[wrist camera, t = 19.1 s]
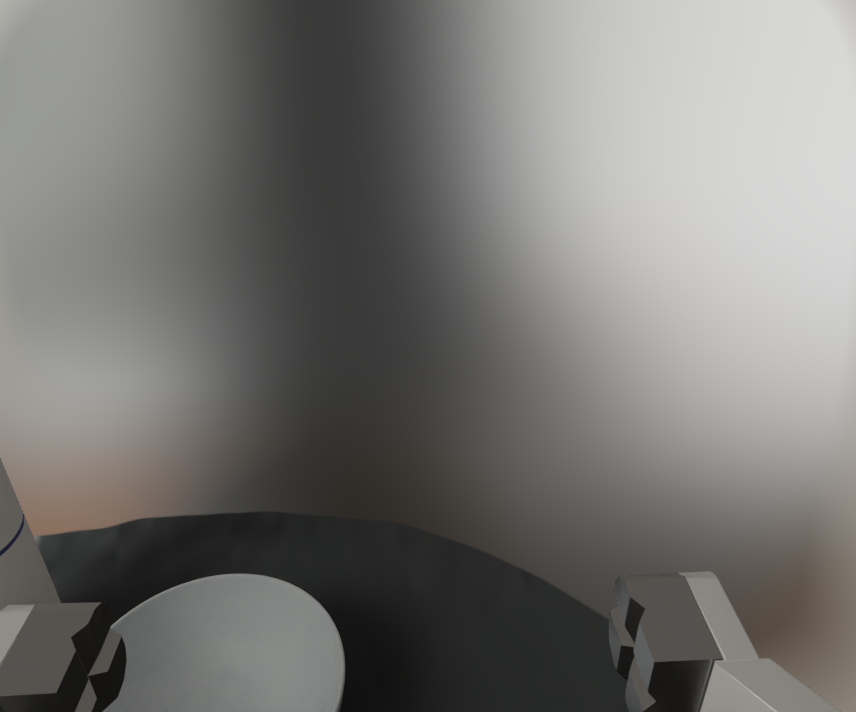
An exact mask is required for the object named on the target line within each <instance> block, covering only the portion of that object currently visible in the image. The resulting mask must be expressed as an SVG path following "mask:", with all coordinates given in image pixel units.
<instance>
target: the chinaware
mask: <svg viewBox="0 0 856 712" xmlns="http://www.w3.org/2000/svg"><path fill="white" fill-rule="evenodd" d="M110 628H111V629H113V630H114V631H115V632H117V633H118V634H120V635H121V636H122V638H123V641H124V644H125V647H126V657H127V662H126V670H125V677H124V681H123V684H122V687H121V690H120V693H119V696H118V698H117V699H116V700H115V701H113V702H112V703H111V704H110V705H109V706H108V707H107V708H106V709H105V710H104V711H103V712H339V711H340V707H341V702H342V697H343V691H344V683H345V656H344V650H343V645H342V641H341V638H340V635H339V632H338V630H337V628H336V626H335V624H334V622H333V620H332V618H331V617H330V615H329V614H328V613H327V611H326V610H325V609H324V608H323V606H322V605H321V604H320V603H319V602H318V601H317V600H315V599H314V598H313V597H312V596H311V595H309V594H308V593H306V592H305V591H303V590H302V589H300V588H298V587H296V586H295V585H292V584H290V583H288V582H285V581H282V580H279V579H276V578H272V577H268V576H263V575H255V574H224V575H216V576H210V577H205V578H201V579H197V580H193V581H190V582H187V583H183V584H181V585H178V586H175V587H173V588H170V589H168V590H166V591H164V592H161V593H159V594H157V595H155V596H153V597H152V598H150V599H148V600H146V601H145V602H143V603H141V604H140V605H138V606H136V607H135V608H133V609H132V610H131V611H129V612H128V613H126V614H125V615H124V616H122V617H121V618H120V619H119V620H117V621H116V622H115V623H114V624H113V625H112V626H111V627H110Z"/></svg>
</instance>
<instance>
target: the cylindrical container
mask: <svg viewBox="0 0 856 712" xmlns="http://www.w3.org/2000/svg"><path fill="white" fill-rule="evenodd" d="M52 603H61V602H60V599H59V597H58V594H57V592H56V590H55V587H54V585H53V583H52V580H51V578H50V575H49V573H48V571H47V568H46V566H45V563H44V561H43V559H42V556H41V554H40V552H39V549H38V547H37V544H36V542H35V540H34V537H33V535H32V533H31V530H30V528H29V525H28V523H27V521H26V518H25V516H24V513H23V511H22V509H21V506H20V504H19V501H18V499H17V497H16V494H15V492H14V490H13V487H12V485H11V482H10V480H9V478H8V475H7V473H6V471H5V468H4V466H3V463H2V461H1V459H0V611H1V610H3V609H4V608H5V607H6V606H7V605H25V604H52Z"/></svg>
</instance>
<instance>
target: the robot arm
mask: <svg viewBox="0 0 856 712" xmlns="http://www.w3.org/2000/svg"><path fill="white" fill-rule="evenodd" d="M613 593H614V596H615V599H616V602H617V606H616V607H614V609H612V610H611V611H610V617H609V643H610V648H611V653H612V657H613V661H614V664H615V668H616V671H617V672H618V673H619V674H620V675H621V676H622V677H623V678H625V679H626V680H627V681H628V682H627V687H626V693H625V700H626V703H627V706H628V710H629V712H840V711H839V710H838V709H836V708H835V707H834V706H832V705H831V704H830V703H828V702H827V701H826V700H824V699H823V698H822V697H820V696H819V695H818V694H816V693H815V692H814V691H813V690H811V689H810V688H809V687H807V686H806V685H805V684H803V683H802V682H801V681H799V680H798V679H797V678H795V677H794V676H793V675H791V674H790V673H788V672H787V671H786V670H785V669H783V668H782V667H781V666H779V665H778V664H777V663H775V662H774V661H773V660H771V659H770V658H760V657H759V656H758V654H757V652H756V650H755V648H754V646H753V644H752V642H751V640H750V638H749V637H748V635H747V633H746V631H745V629H744V627H743V625H742V623H741V622H740V620H739V618H738V616H737V614H736V612H735V610H734V608H733V606H732V604H731V602H730V601H729V599H728V597H727V595H726V593H725V591H724V589H723V587H722V585H721V583H720V581H719V580H718V578H717V576H716V575H715V574H714V573H712V572H711V571H707V572H689V573H688V572H687V573H679V574H678V573H661V574H645V575H630V576H619V577H618V578H617V579H616V581H615V586H614V591H613ZM114 618H115V616H114V614H113V612H112V609H111V607H110V605H109V603H103V602H96V603H52V604H25V605H7V606H6V607H5V608H4V609H3V610H1V611H0V712H103V711H104V710H105V709H106V708H107V707H108V706H109V705H110V704H111V703H112V702H113V701H115V700H116V699H117V698H118V696H119V693H120V690H121V687H122V684H123V681H124V677H125V670H126V662H127V657H126V647H125V644H124V641H123V638H122V636H121V635H120V634H118V633H117V632H115V631H114V630H113V629H111V628H110V627H111V625H112V622H113V620H114Z"/></svg>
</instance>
